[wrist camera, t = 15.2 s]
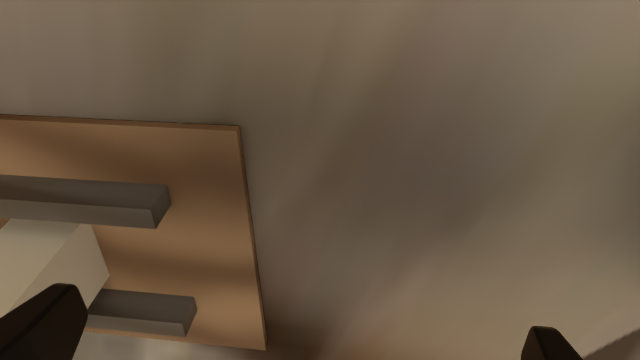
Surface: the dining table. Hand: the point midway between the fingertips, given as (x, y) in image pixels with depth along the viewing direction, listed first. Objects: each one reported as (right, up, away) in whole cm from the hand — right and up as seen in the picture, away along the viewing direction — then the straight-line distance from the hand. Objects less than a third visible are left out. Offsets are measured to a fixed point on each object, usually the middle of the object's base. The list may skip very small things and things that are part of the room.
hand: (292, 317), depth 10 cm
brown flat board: (-14, -1, +19) cm, 23 cm away
